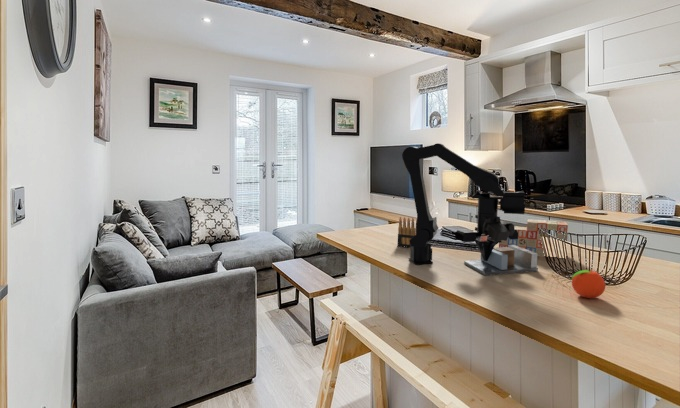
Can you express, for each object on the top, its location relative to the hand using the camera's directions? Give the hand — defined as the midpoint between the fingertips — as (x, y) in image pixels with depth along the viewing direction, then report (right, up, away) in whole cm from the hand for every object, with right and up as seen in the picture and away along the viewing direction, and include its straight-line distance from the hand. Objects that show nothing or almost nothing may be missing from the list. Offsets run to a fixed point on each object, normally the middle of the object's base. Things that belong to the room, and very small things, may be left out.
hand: (485, 260), depth 111 cm
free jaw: (+3, -1, +1) cm, 3 cm away
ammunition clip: (-18, +1, +28) cm, 34 cm away
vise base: (+5, -2, +1) cm, 6 cm away
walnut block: (+6, -1, +2) cm, 7 cm away
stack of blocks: (+23, 0, +17) cm, 29 cm away
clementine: (+16, -6, -23) cm, 28 cm away
